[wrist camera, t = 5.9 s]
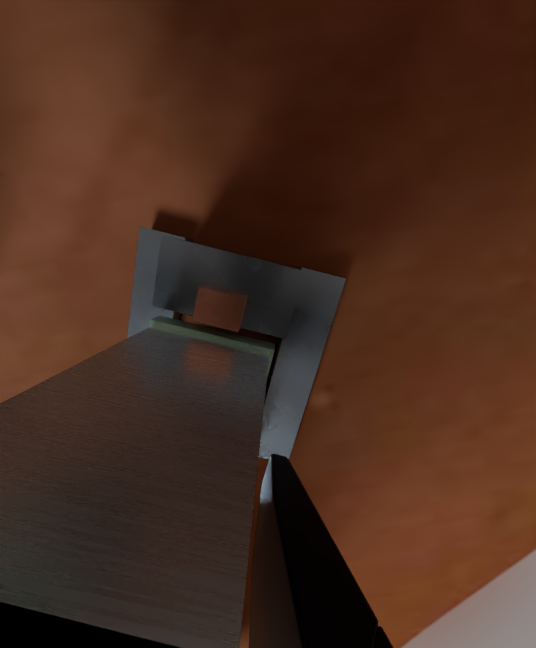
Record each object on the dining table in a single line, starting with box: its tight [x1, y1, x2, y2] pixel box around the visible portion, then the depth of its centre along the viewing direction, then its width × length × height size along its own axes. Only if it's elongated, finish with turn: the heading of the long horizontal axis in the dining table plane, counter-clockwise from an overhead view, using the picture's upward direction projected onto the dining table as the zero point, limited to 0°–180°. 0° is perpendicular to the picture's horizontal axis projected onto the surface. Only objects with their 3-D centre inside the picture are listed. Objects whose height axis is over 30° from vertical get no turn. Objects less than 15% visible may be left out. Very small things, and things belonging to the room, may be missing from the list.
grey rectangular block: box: [0, 315, 275, 648], centre depth 6 cm, size 4×4×9 cm
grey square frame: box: [127, 226, 346, 459], centre depth 11 cm, size 10×9×4 cm
